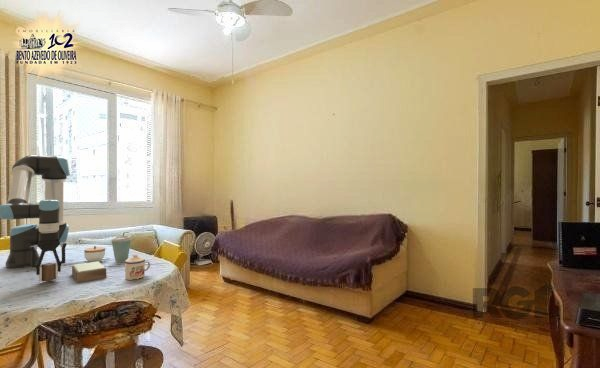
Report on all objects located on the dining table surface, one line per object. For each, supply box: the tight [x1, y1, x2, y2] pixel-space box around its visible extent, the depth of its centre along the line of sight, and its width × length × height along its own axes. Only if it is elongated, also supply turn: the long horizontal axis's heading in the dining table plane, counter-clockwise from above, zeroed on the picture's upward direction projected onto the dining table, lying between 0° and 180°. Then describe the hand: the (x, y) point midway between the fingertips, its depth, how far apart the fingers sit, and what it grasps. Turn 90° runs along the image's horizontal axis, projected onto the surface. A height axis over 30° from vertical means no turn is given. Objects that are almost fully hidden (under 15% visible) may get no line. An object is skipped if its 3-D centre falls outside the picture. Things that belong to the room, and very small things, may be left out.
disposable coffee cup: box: [110, 235, 132, 263], centre depth 187 cm, size 11×11×15 cm
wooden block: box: [41, 262, 57, 282], centre depth 147 cm, size 4×4×8 cm
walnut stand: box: [71, 261, 107, 283], centre depth 157 cm, size 18×12×5 cm, turn 43°
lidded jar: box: [83, 245, 106, 263], centre depth 186 cm, size 11×11×9 cm
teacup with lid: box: [124, 254, 151, 281], centre depth 155 cm, size 12×9×12 cm
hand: (48, 279), depth 147 cm, fingers closed on wooden block, 5 cm apart
